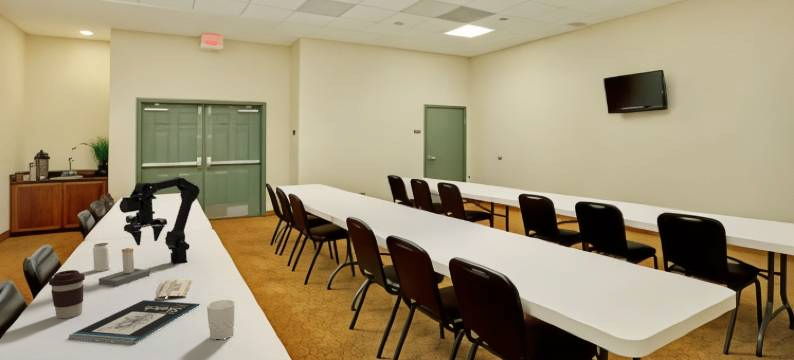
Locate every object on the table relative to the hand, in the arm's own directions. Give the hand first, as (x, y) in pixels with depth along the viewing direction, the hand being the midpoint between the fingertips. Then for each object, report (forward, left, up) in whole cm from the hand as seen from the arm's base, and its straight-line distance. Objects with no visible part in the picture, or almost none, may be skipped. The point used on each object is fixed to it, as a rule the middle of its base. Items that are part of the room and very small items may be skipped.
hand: (147, 243), depth 206 cm
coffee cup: (+27, +45, -13) cm, 54 cm away
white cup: (-14, +91, -13) cm, 93 cm away
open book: (-6, +36, -14) cm, 39 cm away
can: (+18, -14, -13) cm, 26 cm away
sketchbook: (+7, +64, -14) cm, 66 cm away
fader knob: (+8, +8, -10) cm, 15 cm away
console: (+10, +9, -13) cm, 19 cm away
